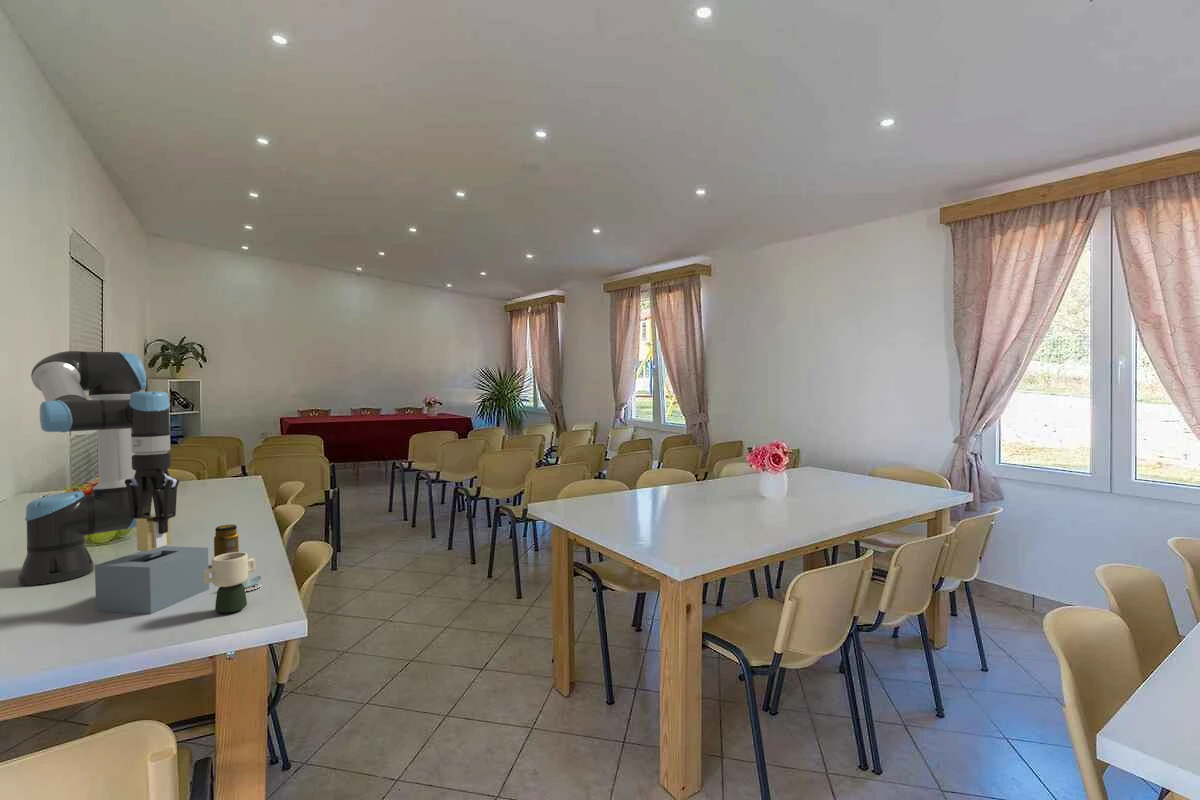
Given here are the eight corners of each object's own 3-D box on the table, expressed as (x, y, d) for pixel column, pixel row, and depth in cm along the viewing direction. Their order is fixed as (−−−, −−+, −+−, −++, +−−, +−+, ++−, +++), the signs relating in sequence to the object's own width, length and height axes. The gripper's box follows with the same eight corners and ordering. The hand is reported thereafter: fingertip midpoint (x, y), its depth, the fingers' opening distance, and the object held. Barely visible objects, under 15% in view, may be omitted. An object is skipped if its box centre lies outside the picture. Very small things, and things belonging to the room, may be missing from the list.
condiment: (239, 561, 167) (238, 522, 167) (242, 567, 161) (241, 527, 160) (210, 566, 163) (209, 526, 162) (212, 573, 156) (211, 531, 156)
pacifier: (266, 588, 144) (257, 583, 148) (266, 565, 144) (257, 560, 147) (235, 597, 138) (226, 591, 142) (234, 572, 138) (226, 567, 142)
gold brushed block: (137, 550, 134) (136, 518, 133) (160, 543, 139) (159, 512, 139) (147, 551, 133) (146, 518, 133) (170, 544, 139) (169, 513, 139)
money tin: (96, 610, 130) (94, 565, 129) (159, 586, 145) (158, 546, 145) (150, 613, 127) (149, 567, 127) (209, 588, 143) (208, 547, 143)
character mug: (249, 599, 136) (247, 548, 135) (263, 605, 132) (261, 552, 131) (198, 615, 126) (196, 559, 126) (211, 622, 122) (210, 565, 122)
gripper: (108, 454, 133) (110, 549, 134) (165, 455, 131) (168, 551, 131) (138, 451, 141) (140, 541, 141) (192, 451, 138) (195, 542, 139)
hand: (153, 546), depth 136 cm, fingers closed on gold brushed block, 3 cm apart
